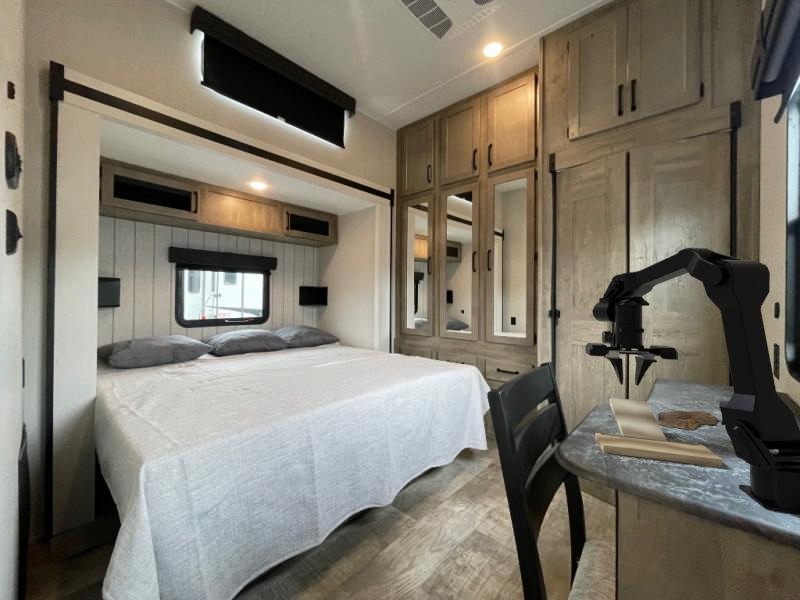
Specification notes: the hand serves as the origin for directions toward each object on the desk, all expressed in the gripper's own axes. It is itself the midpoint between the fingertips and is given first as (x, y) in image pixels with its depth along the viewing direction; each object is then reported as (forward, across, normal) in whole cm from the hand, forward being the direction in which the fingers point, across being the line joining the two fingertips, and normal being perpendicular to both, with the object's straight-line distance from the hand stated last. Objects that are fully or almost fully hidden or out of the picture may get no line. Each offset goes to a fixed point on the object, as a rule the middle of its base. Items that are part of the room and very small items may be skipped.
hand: (629, 384), depth 83 cm
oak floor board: (+11, 0, +14) cm, 18 cm away
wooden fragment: (+12, -18, -13) cm, 25 cm away
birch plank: (+8, 0, +4) cm, 9 cm away
